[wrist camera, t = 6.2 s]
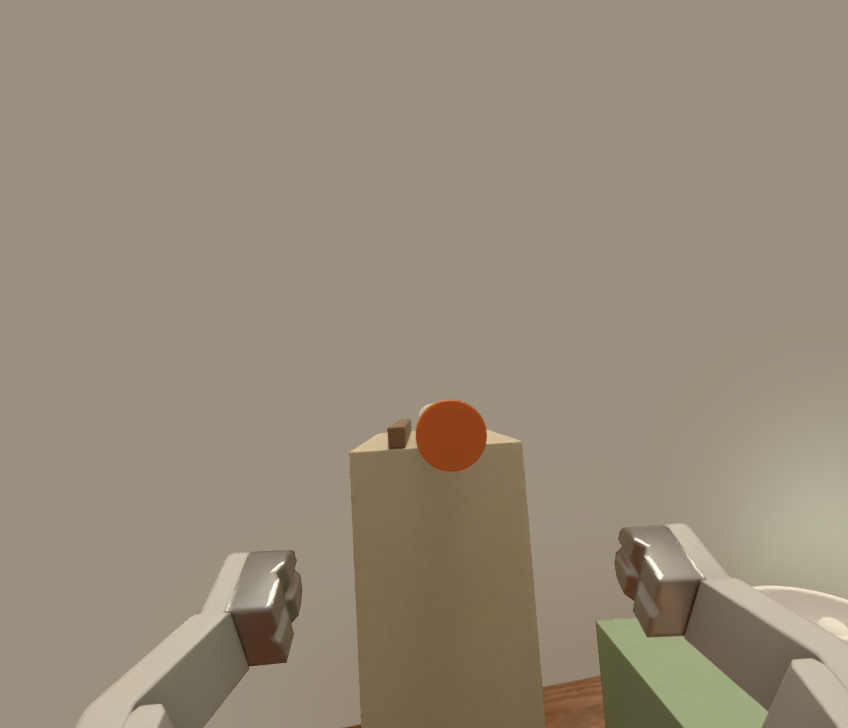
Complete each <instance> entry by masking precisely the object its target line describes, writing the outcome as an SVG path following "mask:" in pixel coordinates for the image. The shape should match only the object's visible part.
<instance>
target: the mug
mask: <svg viewBox="0 0 848 728" xmlns="http://www.w3.org/2000/svg"><path fill="white" fill-rule="evenodd" d="M753 588H755V589H757V590H758V591H760V592H762V593H763V594H765V595H767V596H769V597H770V598H772V599H774V600H775V601H777V602H779V603H781V604H782V605H784V606H786V607H787V608H789V609H791V610H792V611H794V612H796V613H798V614H799V615H801V616H803V617H804V618H806V619H808V620H810V621H811V622H813V623H815V624H816V625H818V626H820V627H821V628H823V629H825V630H827V631H828V632H830V633H832V634H833V635H835V636H837V637H839V638H840V639H842V640H844V641H845V642H847V643H848V600H846V599H843V598H839V597H837V596H833V595H829V594H826V593H822V592H817V591H812V590H807V589H802V588H795V587H786V586H756V587H753Z"/></svg>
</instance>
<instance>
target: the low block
mask: <svg viewBox="0 0 848 728" xmlns="http://www.w3.org/2000/svg"><path fill="white" fill-rule="evenodd" d="M596 631H597V641H598V652H599V662H600V673H601V683H602V694H603V704H604V715H605V725H606V728H761V727H762V725H763V723H764V720H765V718H766V716H767V714H768V711H767V710H766V709H764V708H763V707H762V706H761V705H760V704H759V703H758V702H756V701H755V700H754V699H753V698H752V697H751V696H750V695H748V694H747V693H746V692H745V691H744V690H743V689H742V688H740V687H739V686H738V685H737V684H736V683H735V682H734V681H732V680H731V679H730V678H729V677H728V676H727V675H726V674H724V673H723V672H722V671H721V670H720V669H719V668H718V667H716V666H715V665H714V664H713V663H712V662H711V661H710V660H708V659H707V658H706V657H705V656H704V655H703V654H702V653H700V652H699V651H698V650H697V649H696V648H695V647H694V646H692V645H691V644H690V643H689V642H688V641H687V640H686V639H684V636H673V637H648V638H647V636H646V635H645V633H644V631H643V629H642V627H641V625H640V623H639V621H638V619H637V618H627V619H626V618H625V619H611V620H597V621H596Z"/></svg>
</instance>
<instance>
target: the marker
mask: <svg viewBox="0 0 848 728" xmlns="http://www.w3.org/2000/svg"><path fill="white" fill-rule="evenodd" d="M486 441H487V431H486V426H485V423H484V421H483V419H482V417H481V415H480V414H479V413H478V411H477V410H476V409H474V408H473V407H472V406H471V405H469V404H467V403H465V402H462V401H459V400H444V401H439V402H435V403H432V404H429V405H426V406H424V407H423V408H422V409H421V411H420V412H419V416H418V421H417V428H416V443H417V447H418V449H419V452H420V454H421V455H422V457H423V458H424V459H425V460H426V461H427V462H428V463H429V464H430V465H432V466H433V467H435V468H437V469H440V470H443V471H449V472H453V471H460V470H463V469H466V468H468V467H470V466H471V465H473V464H474V463H475V462H476V461H477V460H478V459H479V458H480V456H481V455H482V453H483V451H484V449H485V446H486Z"/></svg>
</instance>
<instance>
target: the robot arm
mask: <svg viewBox="0 0 848 728" xmlns="http://www.w3.org/2000/svg"><path fill="white" fill-rule="evenodd" d="M618 540H619V542H620V544H621V545H622V547H621V548H620V550H618V551H617V552H616V557H615V570H616V575H617V578H618V581H619V584H620V586H621V588H622V590H623V592H624V594H625V595H627V596H628V597H630V598H631V599H632V600H634V601H635V603H634V608H633V612H634V613H635V615H636V617H637V619H638V621H639V623H640V625H641V627H642V629H643V631H644V633H645V635H646V636H647V638H648V637H673V636H684V639H686V640H687V641H688V642H689V643H690V644H691V645H692V646H694V647H695V648H696V649H697V650H698V651H699V652H700V653H702V654H703V655H704V656H705V657H706V658H707V659H708V660H710V661H711V662H712V663H713V664H714V665H715V666H716V667H718V668H719V669H720V670H721V671H722V672H723V673H724V674H726V675H727V676H728V677H729V678H730V679H731V680H732V681H734V682H735V683H736V684H737V685H738V686H739V687H740V688H742V689H743V690H744V691H745V692H746V693H747V694H748V695H750V696H751V697H752V698H753V699H754V700H755V701H756V702H758V703H759V704H760V705H761V706H762V707H763V708H764V709H766V710H767V711H768V714H767V716H766V718H765V720H764V723H763V725H762V727H761V728H848V643H847V642H845V641H844V640H842V639H840V638H839V637H837V636H835V635H833V634H832V633H830V632H828V631H827V630H825V629H823V628H821V627H820V626H818V625H816V624H815V623H813V622H811V621H810V620H808V619H806V618H804V617H803V616H801V615H799V614H798V613H796V612H794V611H792V610H791V609H789V608H787V607H786V606H784V605H782V604H781V603H779V602H777V601H775V600H774V599H772V598H770V597H769V596H767V595H765V594H763V593H762V592H760V591H758V590H757V589H755V588H753V587H752V586H750V585H748V584H746V583H745V582H743V581H741V580H740V579H738V578H730V577H729V576H728V574H727V573H726V572H725V571H724V570H723V568H722V567H721V566H720V565H719V563H718V562H717V561H716V560H715V558H714V557H713V556H712V555H711V554H710V552H709V551H708V550H707V548H705V546H704V545H703V544H702V542H701V541H700V540H699V539H698V538H697V536H696V535H695V534H694V532H693V531H692V530H691V529H690V527H689V526H687V525H686V524H684V523H680V524H667V525H652V526H639V527H627V528H622V529H621V531H620V533H619V538H618ZM296 562H297V561H296V557H295V553H294V551H292V550H288V551H287V550H286V551H261V552H248V553H231V554H230V555H229V556H228V557H227V558H226V559H225V562H224V564H223V566H222V568H221V570H220V572H219V575H218V576H217V579H216V581H215V583H214V585H213V587H212V589H211V591H210V593H209V595H208V598H207V600H206V602H205V604H204V606H203V608H202V610H201V612H200V614H197V615H192V616H191V617H190V618H189V619H188V620H187V621H186V622H185V623H183V624H182V625H181V626H180V627H179V628H177V629H176V630H175V631H174V632H173V633H172V634H170V635H169V636H168V637H167V638H166V639H165V640H164V641H162V642H161V643H160V644H159V645H158V646H157V647H155V648H154V649H153V650H152V651H151V652H150V653H149V654H147V655H146V656H145V657H144V658H143V659H142V660H140V661H139V662H138V663H137V664H136V665H135V666H134V667H132V668H131V669H130V670H129V671H128V672H127V673H125V674H124V675H123V676H122V677H121V678H120V679H118V680H117V681H116V682H115V683H114V684H113V685H112V686H110V687H109V688H108V689H107V690H106V691H105V692H103V693H102V694H101V695H100V696H99V697H98V698H97V699H95V700H94V701H93V702H92V703H91V704H90V705H88V706H87V707H86V709H85V711H84V712H83V714H82V716H81V717H80V719H79V721H78V723H77V724H76V726H75V727H74V728H203V727H204V726H205V725H206V723H207V722H208V721H209V719H210V718H211V717H212V716H213V714H214V713H215V712H216V710H217V709H218V708H219V707H220V705H221V704H222V703H223V702H224V700H225V699H226V698H227V697H228V695H229V694H230V693H231V692H232V690H233V689H234V688H235V686H236V685H237V684H238V683H239V681H240V680H241V679H242V677H243V676H244V675H245V674H246V672H247V671H248V670H249V666H257V665H266V664H277V663H286V662H287V659H288V654H289V651H290V647H291V643H292V639H293V635H294V633H293V629H292V625H291V623H292V622H293V621H294V620H295V619H296V617H298V614H299V610H300V606H301V597H302V583H301V577H300V574H299V573H298V572H296V571H295V570H294V569H295V565H296Z"/></svg>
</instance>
